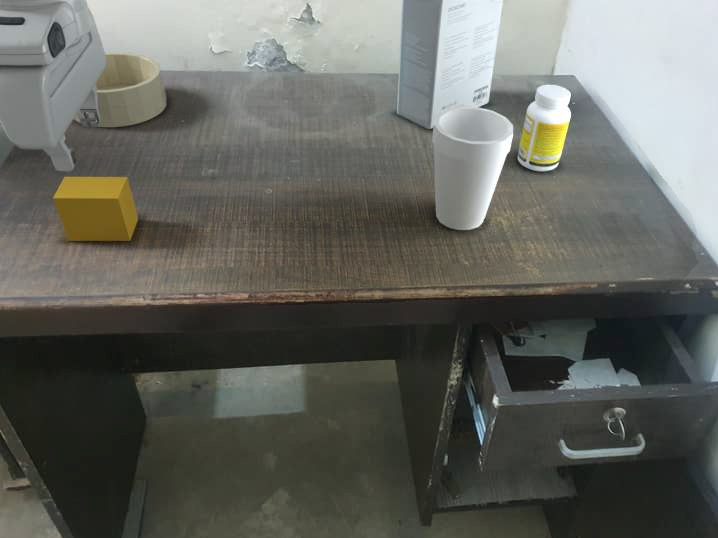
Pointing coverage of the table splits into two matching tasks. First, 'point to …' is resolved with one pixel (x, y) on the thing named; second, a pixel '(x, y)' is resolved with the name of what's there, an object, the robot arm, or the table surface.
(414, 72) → the hard drive box
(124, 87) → the bowl
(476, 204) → the foam cup
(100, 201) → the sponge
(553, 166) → the pill bottle
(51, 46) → the robot arm
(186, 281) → the table surface
